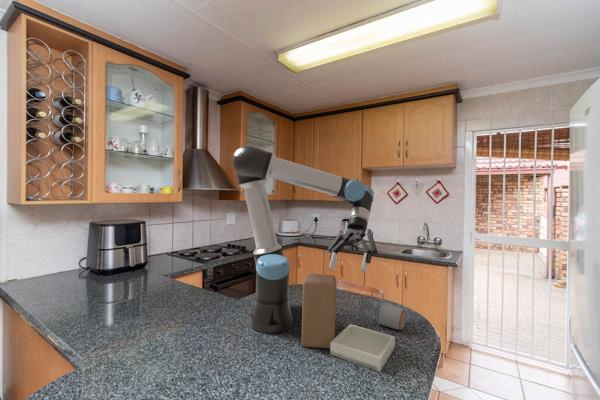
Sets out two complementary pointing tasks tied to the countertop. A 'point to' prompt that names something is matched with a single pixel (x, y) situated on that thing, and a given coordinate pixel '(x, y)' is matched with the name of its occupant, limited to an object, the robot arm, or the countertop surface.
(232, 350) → the countertop surface
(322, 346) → the wooden block
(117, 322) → the countertop surface
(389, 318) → the ceramic mug
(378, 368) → the sage tray
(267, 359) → the countertop surface
